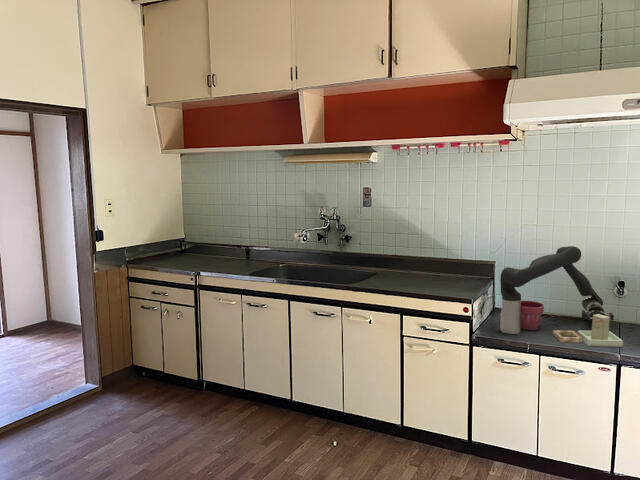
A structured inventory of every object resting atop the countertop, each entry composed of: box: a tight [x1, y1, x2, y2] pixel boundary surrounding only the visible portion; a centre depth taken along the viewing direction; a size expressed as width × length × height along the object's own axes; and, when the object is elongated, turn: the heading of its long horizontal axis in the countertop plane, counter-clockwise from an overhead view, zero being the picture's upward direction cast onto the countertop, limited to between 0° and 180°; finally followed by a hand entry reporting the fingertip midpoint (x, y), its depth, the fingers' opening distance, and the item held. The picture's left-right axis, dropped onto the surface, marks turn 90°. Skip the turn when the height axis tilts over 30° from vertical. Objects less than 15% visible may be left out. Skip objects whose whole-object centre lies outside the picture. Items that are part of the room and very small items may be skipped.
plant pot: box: [520, 300, 545, 331], centre depth 274 cm, size 14×14×13 cm
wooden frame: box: [552, 329, 583, 343], centre depth 256 cm, size 10×12×2 cm
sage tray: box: [577, 330, 624, 348], centre depth 251 cm, size 15×15×3 cm
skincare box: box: [591, 314, 611, 340], centre depth 250 cm, size 6×4×12 cm
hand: (598, 319), depth 257 cm, fingers open, 8 cm apart
